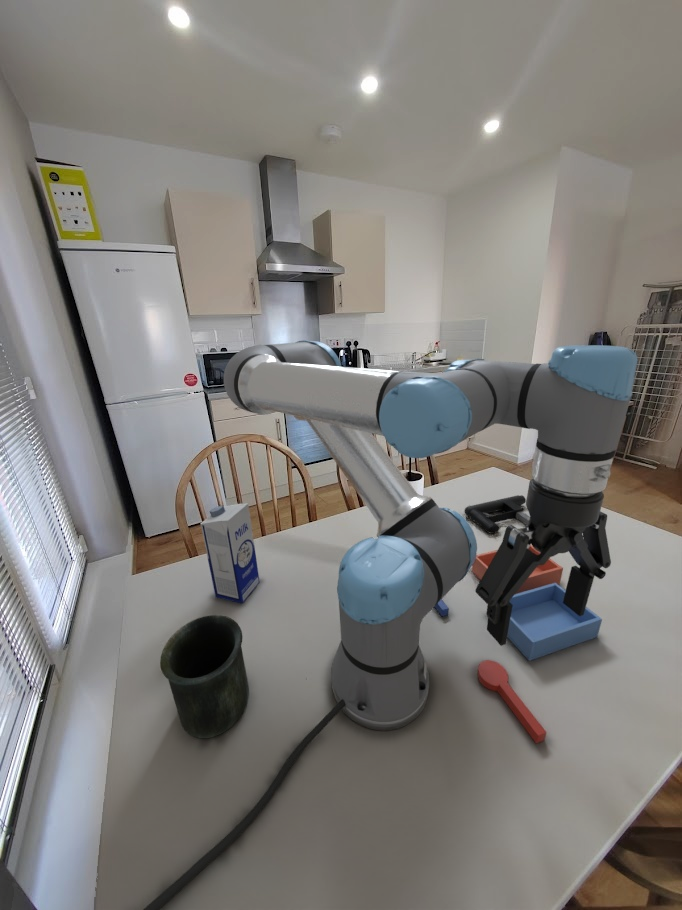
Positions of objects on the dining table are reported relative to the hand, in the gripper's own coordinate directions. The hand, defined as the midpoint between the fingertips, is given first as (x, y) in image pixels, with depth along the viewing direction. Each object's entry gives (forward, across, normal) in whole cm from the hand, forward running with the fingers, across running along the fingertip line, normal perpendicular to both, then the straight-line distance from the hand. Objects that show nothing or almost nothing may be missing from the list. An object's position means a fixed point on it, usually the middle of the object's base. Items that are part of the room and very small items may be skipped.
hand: (535, 622), depth 49 cm
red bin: (+14, +18, +20) cm, 31 cm away
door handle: (+14, +34, +39) cm, 54 cm away
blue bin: (+14, +13, +8) cm, 20 cm away
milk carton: (+14, -39, +39) cm, 57 cm away
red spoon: (+14, -3, 0) cm, 14 cm away
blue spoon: (+14, -2, +23) cm, 27 cm away
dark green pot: (+14, -44, +16) cm, 49 cm away
